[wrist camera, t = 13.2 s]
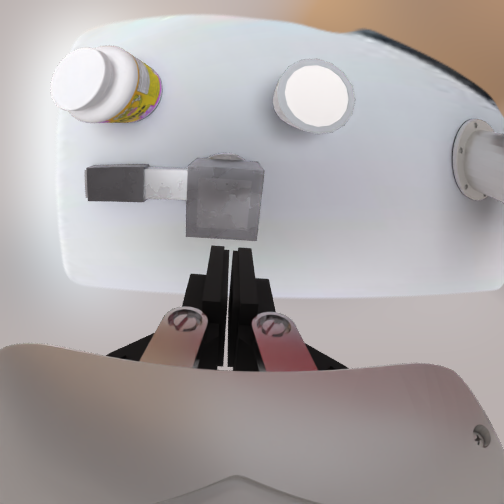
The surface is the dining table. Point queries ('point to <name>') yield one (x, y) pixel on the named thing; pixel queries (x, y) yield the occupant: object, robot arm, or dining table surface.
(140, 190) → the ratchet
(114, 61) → the supplement bottle
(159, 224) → the dining table surface
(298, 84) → the white cup
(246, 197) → the grey cube
